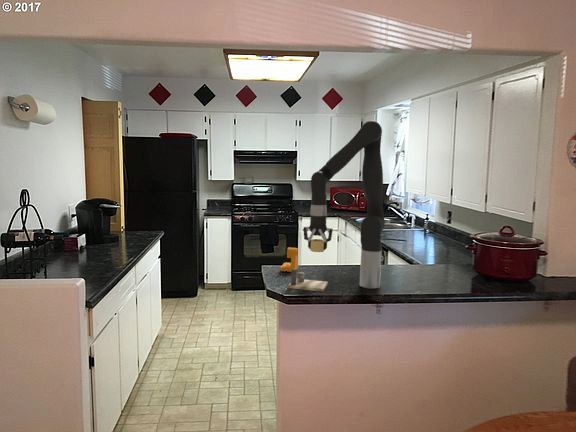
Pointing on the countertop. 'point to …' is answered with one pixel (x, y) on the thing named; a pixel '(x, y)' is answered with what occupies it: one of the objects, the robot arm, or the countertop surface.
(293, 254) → the bracket
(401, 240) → the countertop surface
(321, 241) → the brass collar
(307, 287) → the maple board
